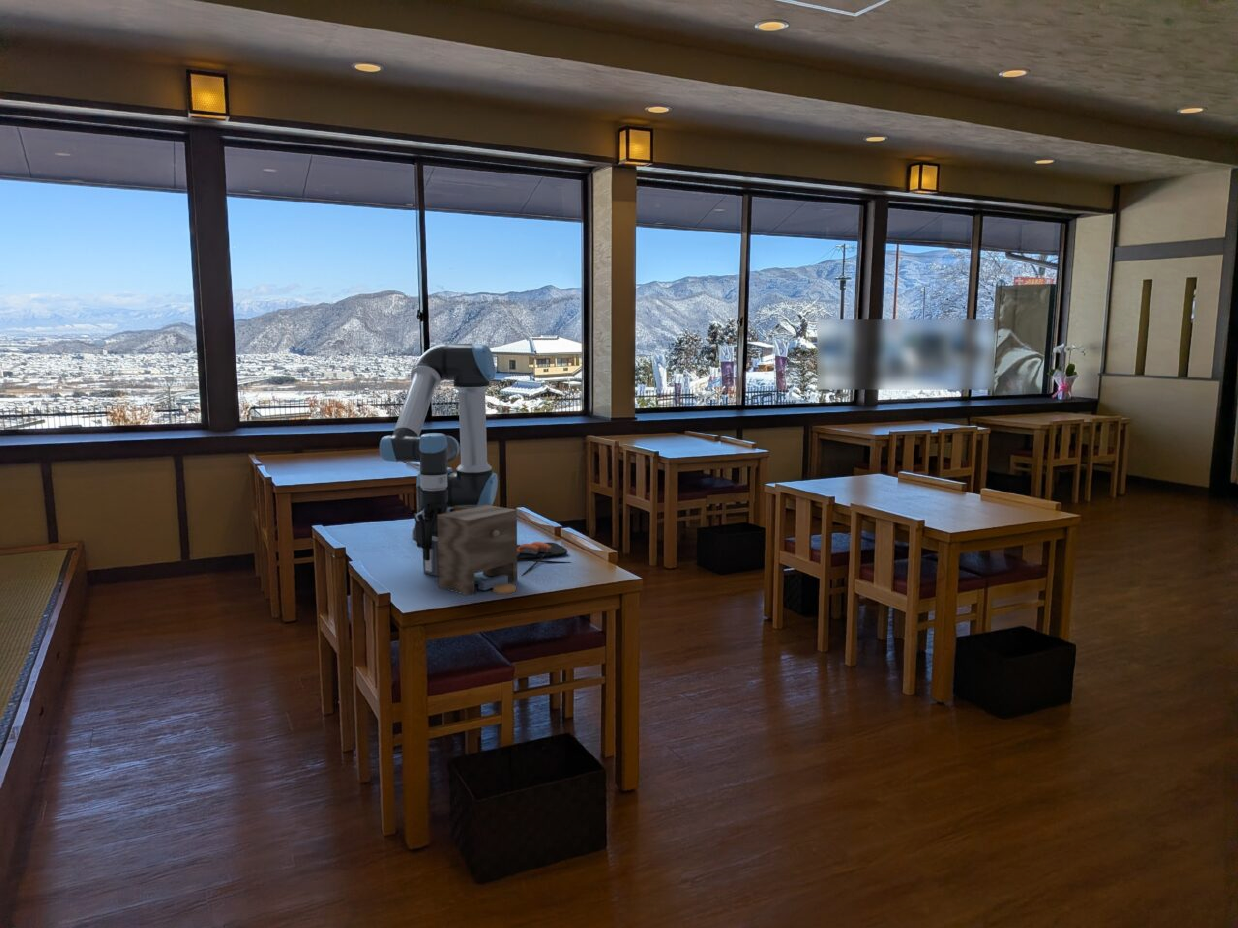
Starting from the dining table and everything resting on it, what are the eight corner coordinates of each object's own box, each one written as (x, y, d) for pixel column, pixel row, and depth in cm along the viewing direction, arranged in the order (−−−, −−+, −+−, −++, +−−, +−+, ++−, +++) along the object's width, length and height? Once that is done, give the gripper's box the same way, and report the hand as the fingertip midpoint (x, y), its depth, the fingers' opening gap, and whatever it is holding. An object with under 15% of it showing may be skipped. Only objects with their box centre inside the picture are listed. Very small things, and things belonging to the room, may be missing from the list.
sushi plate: (553, 547, 278) (553, 535, 278) (590, 570, 251) (590, 557, 251) (466, 556, 266) (466, 544, 265) (495, 581, 239) (495, 568, 238)
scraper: (416, 574, 242) (415, 540, 241) (440, 568, 250) (439, 534, 248) (484, 590, 226) (483, 553, 225) (507, 582, 234) (507, 547, 232)
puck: (488, 591, 228) (488, 587, 228) (504, 586, 233) (504, 582, 232) (503, 595, 224) (503, 591, 224) (520, 590, 229) (520, 586, 229)
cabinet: (438, 587, 231) (437, 514, 228) (486, 572, 245) (485, 504, 242) (473, 596, 223) (472, 521, 220) (520, 580, 237) (520, 510, 234)
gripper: (419, 494, 232) (421, 577, 235) (465, 486, 245) (466, 565, 249) (401, 491, 236) (403, 573, 240) (447, 483, 250) (449, 561, 253)
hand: (435, 568), depth 244 cm, fingers closed on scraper, 4 cm apart
